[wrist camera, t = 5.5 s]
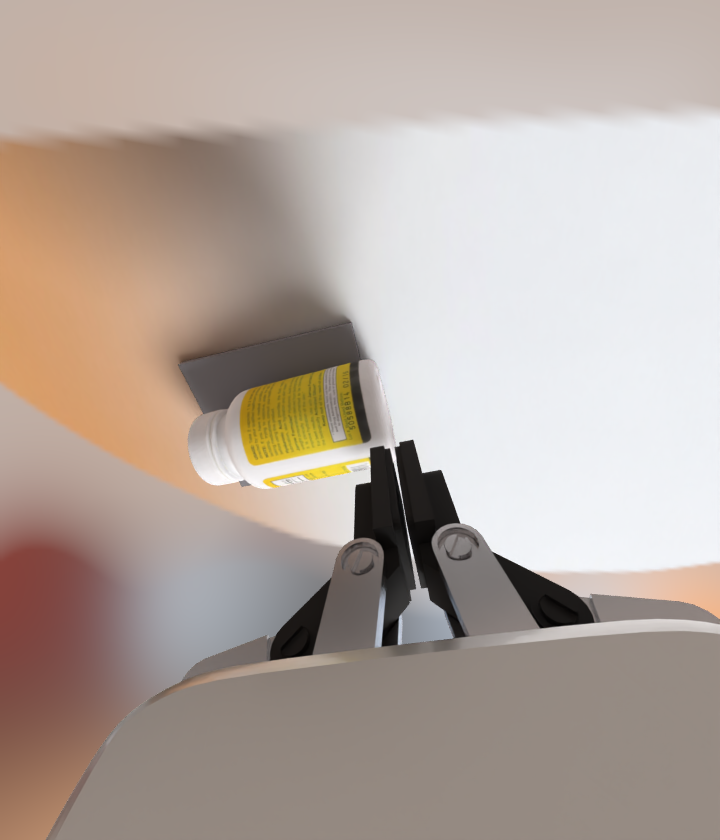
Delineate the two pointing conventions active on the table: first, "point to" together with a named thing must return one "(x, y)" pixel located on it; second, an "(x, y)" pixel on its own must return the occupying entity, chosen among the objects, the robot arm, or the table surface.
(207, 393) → the mat
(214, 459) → the supplement bottle
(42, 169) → the table surface
